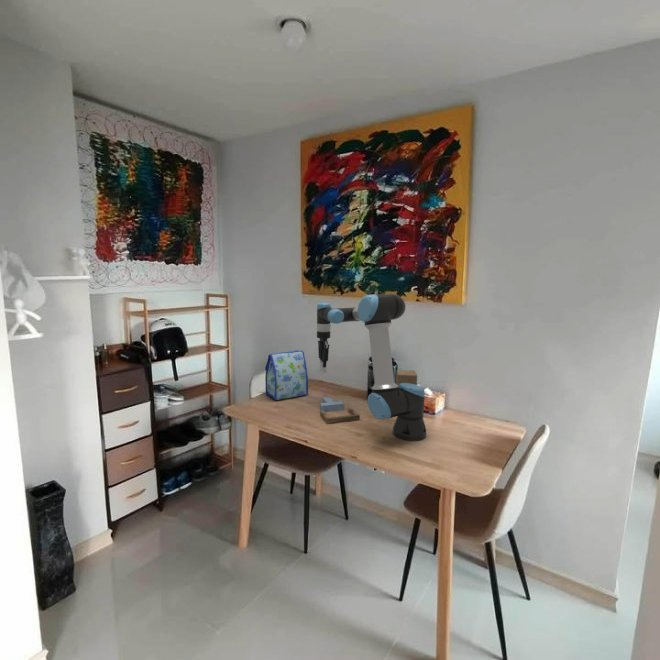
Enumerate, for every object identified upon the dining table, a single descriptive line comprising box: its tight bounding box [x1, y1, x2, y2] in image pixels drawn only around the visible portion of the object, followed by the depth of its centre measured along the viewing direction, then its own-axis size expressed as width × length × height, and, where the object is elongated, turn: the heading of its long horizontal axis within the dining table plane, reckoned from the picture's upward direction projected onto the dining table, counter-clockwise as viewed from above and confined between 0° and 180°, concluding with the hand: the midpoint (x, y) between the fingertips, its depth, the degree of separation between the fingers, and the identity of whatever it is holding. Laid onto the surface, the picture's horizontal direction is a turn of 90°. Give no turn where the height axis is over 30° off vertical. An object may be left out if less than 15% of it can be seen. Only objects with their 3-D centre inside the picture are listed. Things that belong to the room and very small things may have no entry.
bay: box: [319, 407, 361, 425], centre depth 195 cm, size 12×17×2 cm
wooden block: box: [395, 369, 418, 386], centre depth 209 cm, size 10×10×20 cm
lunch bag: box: [264, 349, 309, 401], centre depth 226 cm, size 22×17×26 cm
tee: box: [319, 396, 345, 413], centre depth 210 cm, size 12×12×4 cm
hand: (323, 371), depth 219 cm, fingers open, 2 cm apart
